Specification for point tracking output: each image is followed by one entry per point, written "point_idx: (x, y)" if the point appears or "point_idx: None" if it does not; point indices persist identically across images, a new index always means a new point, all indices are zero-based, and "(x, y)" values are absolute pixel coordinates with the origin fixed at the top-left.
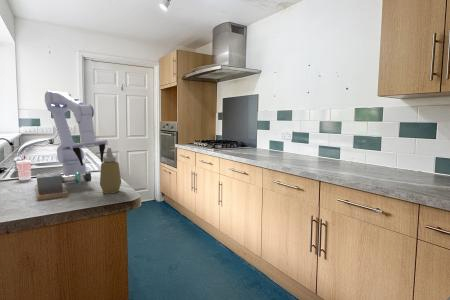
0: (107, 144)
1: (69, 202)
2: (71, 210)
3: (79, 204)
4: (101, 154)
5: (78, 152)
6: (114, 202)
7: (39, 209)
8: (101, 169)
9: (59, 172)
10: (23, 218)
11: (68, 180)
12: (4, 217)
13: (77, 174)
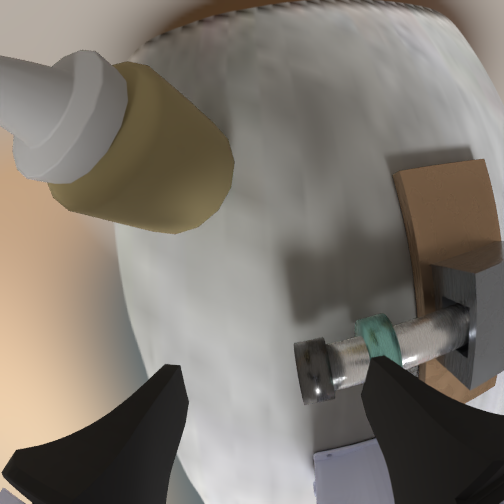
0: (13, 495)
1: (361, 76)
2: (326, 5)
3: (315, 41)
4: (128, 413)
5: (475, 431)
6: (194, 34)
7: (427, 54)
8: (186, 106)
9: (471, 386)
10: (424, 13)
11: (423, 317)
12: (469, 45)
13: (387, 342)
